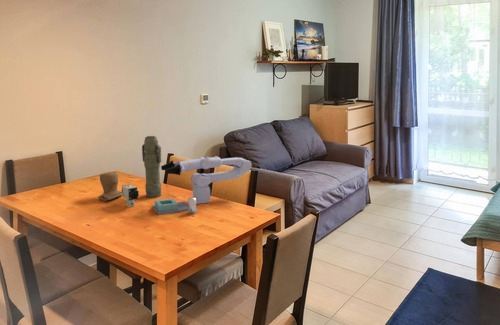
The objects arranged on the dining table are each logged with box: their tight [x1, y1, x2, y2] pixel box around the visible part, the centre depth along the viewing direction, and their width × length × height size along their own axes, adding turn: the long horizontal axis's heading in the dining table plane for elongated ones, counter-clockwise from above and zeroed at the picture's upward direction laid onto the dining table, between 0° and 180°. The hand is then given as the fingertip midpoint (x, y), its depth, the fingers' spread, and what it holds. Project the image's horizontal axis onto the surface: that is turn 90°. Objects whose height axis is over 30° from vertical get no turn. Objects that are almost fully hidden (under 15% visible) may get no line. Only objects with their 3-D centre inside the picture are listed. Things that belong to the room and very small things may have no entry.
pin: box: [187, 196, 198, 215], centre depth 218 cm, size 4×4×8 cm
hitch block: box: [151, 198, 189, 216], centre depth 225 cm, size 18×14×4 cm
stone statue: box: [141, 135, 162, 199], centre depth 245 cm, size 9×12×35 cm
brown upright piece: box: [97, 171, 123, 202], centre depth 243 cm, size 15×12×15 cm
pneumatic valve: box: [121, 183, 139, 208], centre depth 230 cm, size 6×12×12 cm, turn 40°
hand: (163, 169), depth 224 cm, fingers open, 7 cm apart
